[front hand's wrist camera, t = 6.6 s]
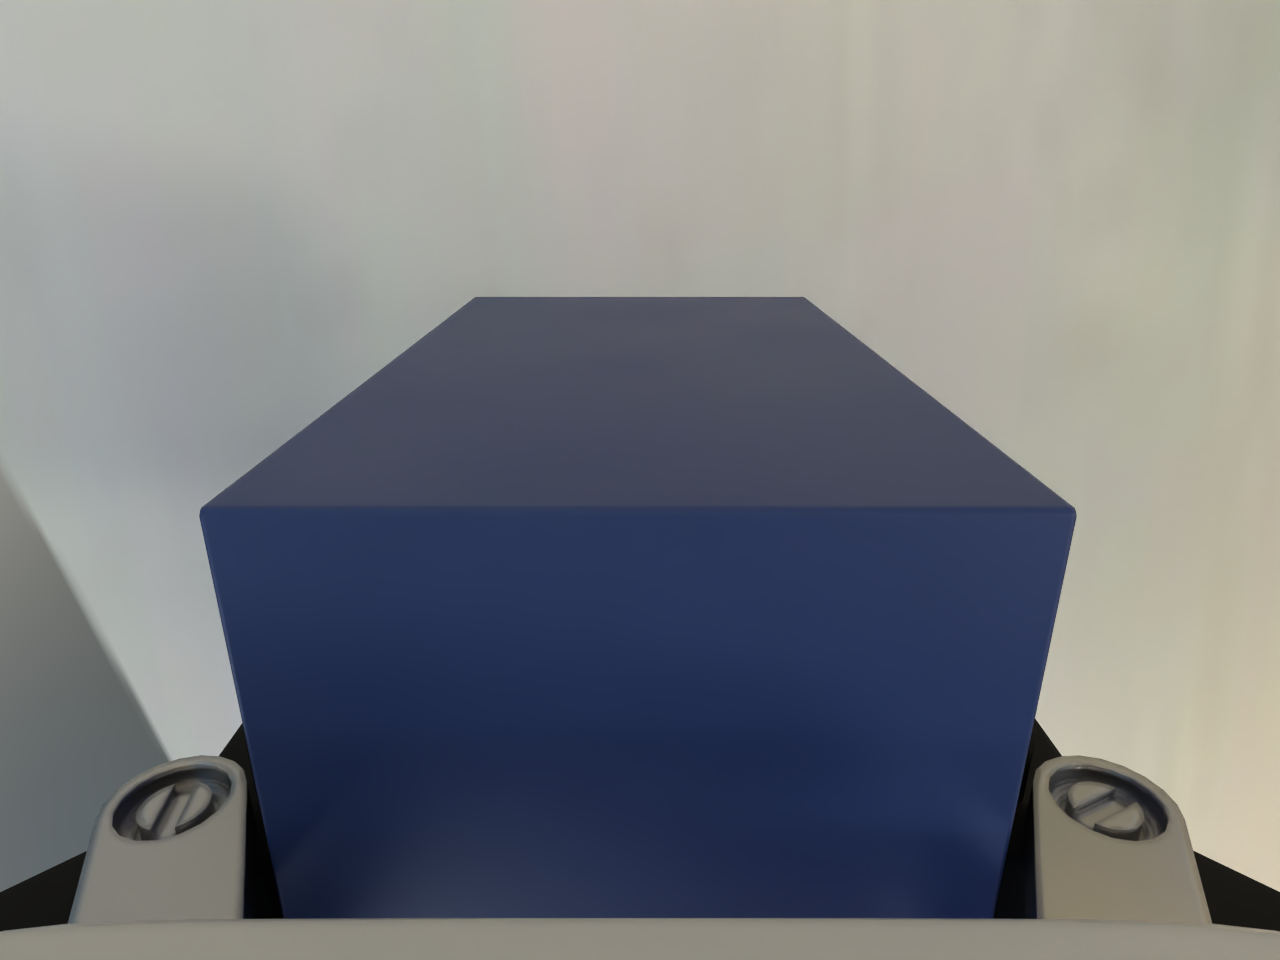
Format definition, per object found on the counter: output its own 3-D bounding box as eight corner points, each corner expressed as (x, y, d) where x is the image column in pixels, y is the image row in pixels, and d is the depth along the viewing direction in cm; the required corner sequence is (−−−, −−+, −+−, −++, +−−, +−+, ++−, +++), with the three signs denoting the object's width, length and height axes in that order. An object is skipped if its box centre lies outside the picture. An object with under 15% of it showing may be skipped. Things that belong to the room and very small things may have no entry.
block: (806, 296, 15) (1082, 508, 6) (777, 693, 18) (925, 1258, 9) (473, 296, 15) (192, 508, 6) (502, 692, 18) (352, 1256, 9)
